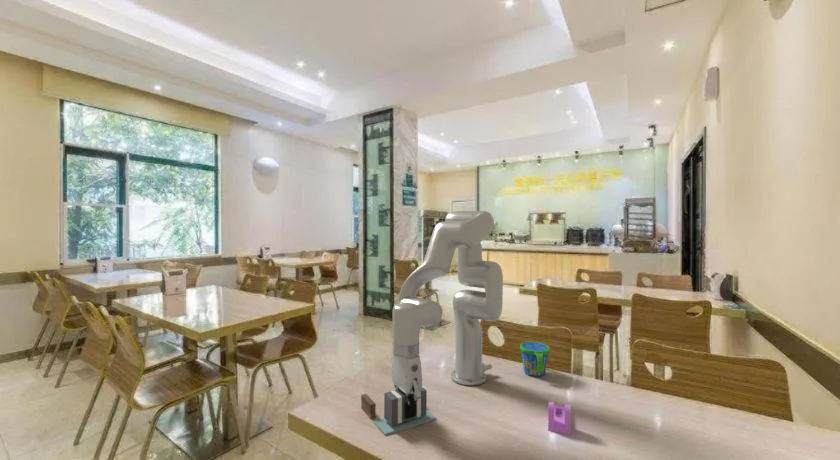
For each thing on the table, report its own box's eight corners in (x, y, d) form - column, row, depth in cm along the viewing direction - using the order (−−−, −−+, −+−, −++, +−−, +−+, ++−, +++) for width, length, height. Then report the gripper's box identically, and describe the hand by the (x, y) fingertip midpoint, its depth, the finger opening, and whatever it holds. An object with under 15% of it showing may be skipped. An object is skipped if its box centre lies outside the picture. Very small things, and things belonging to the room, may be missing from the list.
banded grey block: (418, 407, 108) (418, 384, 108) (426, 414, 104) (426, 390, 104) (384, 417, 102) (384, 392, 102) (391, 425, 98) (391, 399, 98)
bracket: (570, 435, 97) (570, 409, 96) (548, 431, 99) (548, 405, 98) (568, 411, 109) (569, 388, 109) (549, 408, 111) (549, 385, 111)
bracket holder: (408, 395, 118) (408, 383, 118) (419, 404, 112) (419, 391, 112) (361, 408, 110) (361, 394, 110) (370, 418, 104) (370, 404, 104)
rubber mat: (423, 408, 110) (423, 406, 110) (436, 419, 104) (436, 417, 104) (374, 423, 102) (374, 421, 102) (385, 435, 96) (385, 433, 96)
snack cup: (553, 383, 127) (554, 354, 127) (522, 381, 129) (522, 352, 129) (545, 366, 143) (545, 340, 143) (517, 364, 144) (517, 338, 144)
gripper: (433, 355, 97) (433, 423, 98) (403, 337, 112) (403, 397, 112) (408, 360, 93) (408, 431, 94) (380, 341, 108) (380, 403, 108)
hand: (405, 412), depth 103 cm, fingers open, 4 cm apart
